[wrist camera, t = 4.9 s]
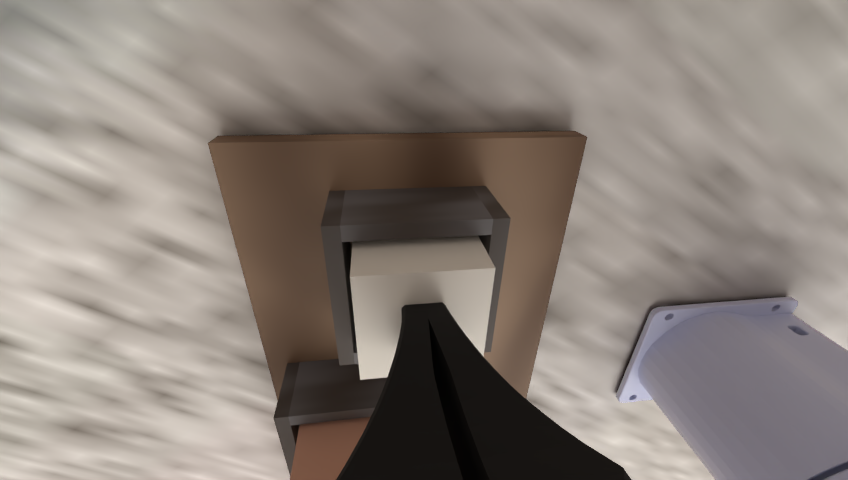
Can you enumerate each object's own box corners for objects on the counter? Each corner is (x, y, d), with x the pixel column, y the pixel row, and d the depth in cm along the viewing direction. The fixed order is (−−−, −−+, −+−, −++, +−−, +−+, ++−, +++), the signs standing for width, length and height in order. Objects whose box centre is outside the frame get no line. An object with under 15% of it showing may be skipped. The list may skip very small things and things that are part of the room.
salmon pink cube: (397, 399, 18) (403, 475, 14) (399, 453, 20) (404, 529, 17) (302, 409, 17) (288, 490, 14) (314, 463, 19) (304, 544, 16)
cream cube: (468, 218, 14) (495, 268, 11) (461, 306, 16) (481, 368, 13) (354, 223, 14) (350, 276, 11) (361, 313, 16) (360, 379, 13)
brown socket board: (574, 131, 15) (635, 159, 12) (497, 491, 29) (514, 553, 26) (218, 136, 14) (166, 171, 10) (315, 516, 27) (307, 586, 24)
